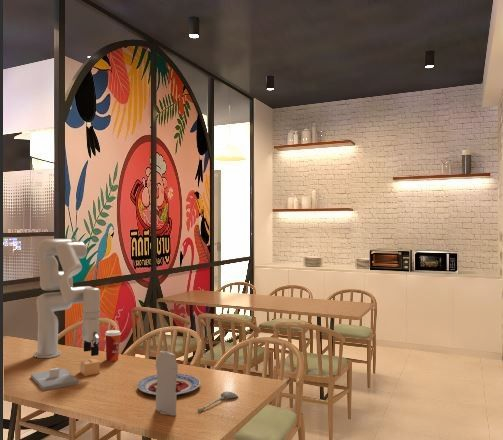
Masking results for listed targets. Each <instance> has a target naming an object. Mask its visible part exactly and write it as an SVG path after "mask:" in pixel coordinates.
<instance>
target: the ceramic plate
mask: <svg viewBox="0 0 503 440" xmlns="http://www.w3.org/2000/svg"><path fill="white" fill-rule="evenodd" d="M136 386H137V388H138V389H139V390H140V391H141V392H143V393H145V394H150V395H153V396H154V395H155V396H156V389H157V374H154V375H149V376H147V377H145V378H143V379H141V380H140V381H138V383H137V385H136ZM199 386H201V381H200V379H199V378H197V377H195V376H193V375H190V374H187V373H185V374H184V373H177V375H176V396H178V395H183V394H188V393H190V392H192V391H194V390H196V389H198V388H199Z"/></svg>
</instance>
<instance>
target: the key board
mask: <svg viewBox="0 0 503 440" xmlns="http://www.w3.org/2000/svg"><path fill="white" fill-rule="evenodd" d="M31 377H32V378H31ZM30 378H31V380H33V382H35V384H36V383H37V384H38V385H39V386H38V385H37V384H36V385H37V386H38V387H39V389H41V390H42V392H44V391H48V390H53V389H59V388H64V387H68V386H75V385H79V380H78V378H76V377H75V376H74V375H72V373H70V372H69V371H68V370H67V369H66V368H64V367H63V368H59V367H55V368H50V369H49V370H45V371H40V372H34V373H30Z"/></svg>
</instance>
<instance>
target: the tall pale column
mask: <svg viewBox="0 0 503 440" xmlns="http://www.w3.org/2000/svg"><path fill="white" fill-rule="evenodd" d="M176 359H177V358H176V354H175V353H172V352H170V351H165V350H161V351H159V352H158V356H157V358H156V360H155V369H156V375H157V389H156V395H155V411H156V412H158V413H159V414H161V415H167V416H170V417H176V416H177V395H176V375H177V374H179V373H178V370H179V364H178V362H177V360H176Z"/></svg>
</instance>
